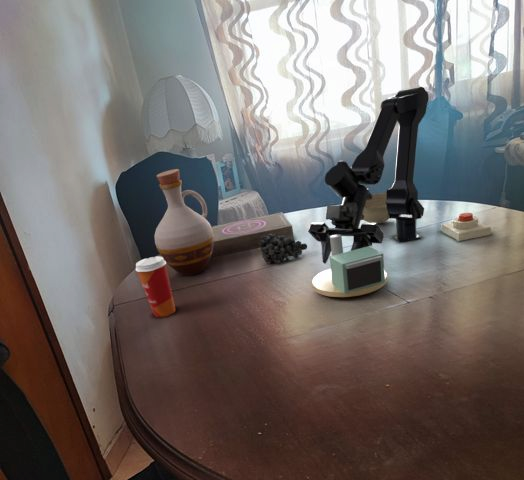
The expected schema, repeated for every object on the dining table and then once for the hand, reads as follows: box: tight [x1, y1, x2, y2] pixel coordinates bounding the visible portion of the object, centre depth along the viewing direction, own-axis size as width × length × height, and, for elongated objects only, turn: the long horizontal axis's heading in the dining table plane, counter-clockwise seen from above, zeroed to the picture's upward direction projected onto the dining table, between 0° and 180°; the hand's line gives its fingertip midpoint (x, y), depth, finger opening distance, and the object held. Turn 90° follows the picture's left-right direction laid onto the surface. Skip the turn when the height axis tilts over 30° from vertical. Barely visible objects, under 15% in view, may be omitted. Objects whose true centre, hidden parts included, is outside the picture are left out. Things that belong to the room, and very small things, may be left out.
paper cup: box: [135, 255, 176, 318], centre depth 116 cm, size 8×8×14 cm
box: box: [441, 215, 492, 242], centre depth 132 cm, size 11×9×4 cm
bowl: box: [362, 192, 390, 224], centre depth 156 cm, size 18×18×8 cm
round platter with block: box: [311, 234, 388, 298], centre depth 110 cm, size 18×19×10 cm
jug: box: [154, 168, 213, 276], centre depth 140 cm, size 20×18×30 cm
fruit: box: [256, 234, 308, 265], centre depth 138 cm, size 9×8×15 cm
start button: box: [458, 212, 474, 222], centre depth 131 cm, size 4×4×2 cm
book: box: [210, 212, 295, 258], centre depth 165 cm, size 30×22×5 cm
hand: (336, 263), depth 116 cm, fingers open, 7 cm apart
